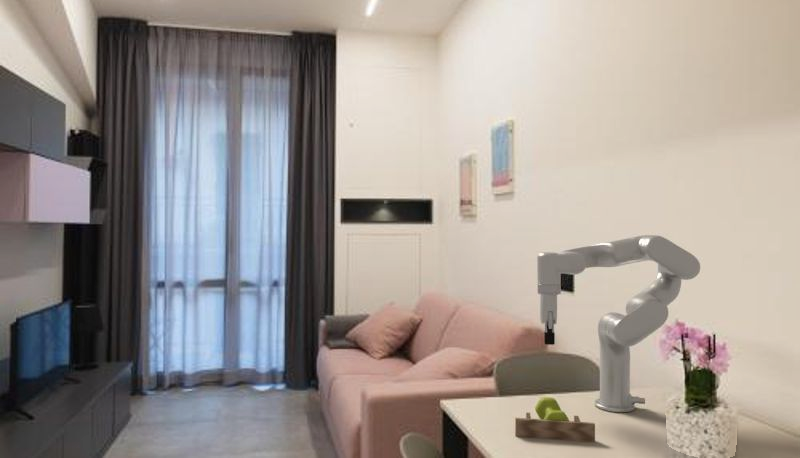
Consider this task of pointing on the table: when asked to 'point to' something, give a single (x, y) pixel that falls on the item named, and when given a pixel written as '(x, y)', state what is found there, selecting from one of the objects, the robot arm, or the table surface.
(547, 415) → the dumbbell
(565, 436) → the walnut bay
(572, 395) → the table surface
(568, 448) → the table surface
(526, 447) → the table surface
